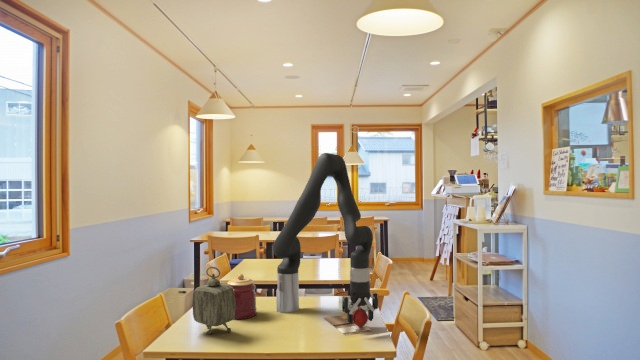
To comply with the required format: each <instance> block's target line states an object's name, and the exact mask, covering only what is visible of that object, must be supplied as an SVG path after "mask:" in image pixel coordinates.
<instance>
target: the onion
mask: <svg viewBox="0 0 640 360" xmlns="http://www.w3.org/2000/svg"><path fill="white" fill-rule="evenodd" d="M352 314H353V322H354V323H355V324H356V325H357V326H358V327H359V328H361V327H363V326H364V325H365V326H366V324H367V322H368V321H369V320H368V312H366V310H363V309H362V308H361V307H358V309H357V310H356V311H353V313H352Z"/></svg>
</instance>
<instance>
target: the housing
mask: <svg viewBox="0 0 640 360" xmlns="http://www.w3.org/2000/svg"><path fill="white" fill-rule="evenodd" d="M350 303H351V300H349V302H348V307H349V304H350ZM353 305H354V304H353ZM360 307H361V308H362V309H363V310H364V311H366V310H368V308H367V306H366V305H365V306H360ZM338 309H339V310H341V311H342V297H339V298H338ZM357 309H358V307H356V309H354V311H353V312H355V311H356V310H357Z"/></svg>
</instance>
